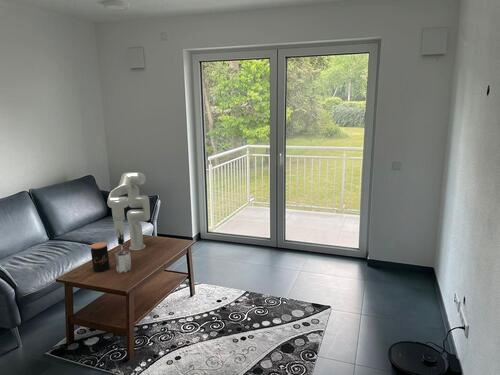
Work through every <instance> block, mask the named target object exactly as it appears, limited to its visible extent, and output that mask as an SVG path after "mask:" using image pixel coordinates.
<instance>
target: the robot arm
mask: <svg viewBox="0 0 500 375" xmlns="http://www.w3.org/2000/svg"><path fill="white" fill-rule="evenodd" d="M146 179H147V178H146V175H145V174H144V173H142V172H137V171H136V172H134V171H133V172H123V174H121V177H120V180H119V184H118V186H116V187H114V189H112V190H111V191H110V192H109V194H108V197H107V202H106V203H107V207H109V208H110V209H111V214H112V221H113V225H114V226H113V228H114V236H117V242H118V243H117V244H118V246H121V245H122V246H123V245H124V242H123V239H122V236H125V235H124V232H125V223H124V221H125V220H126V218H127V223H128V227H129V228H128V229H129V237H130V238H129V240H130V246H129V247H128V249H129V251H141V250H143V249H145V248H146V244H145V243H144V237H143V236H144V235H143V226H142V224H141V222H147V221H149V220H150V218H151V211H150V210H151V209H150V208H151V207H150V206H151V205H150V198H149V196H148V195H146V194H143V195H140V188H139V187H138V185H144V184H145V183H146ZM126 194H127V196H125V195H126ZM128 207H129V208H132V209H130V210H128V211H127V212H126V216H125V208H128ZM133 208H134V209H133ZM135 208H136V209H135ZM137 208H140V209H137Z"/></svg>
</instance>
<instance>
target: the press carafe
mask: <svg viewBox="0 0 500 375" xmlns="http://www.w3.org/2000/svg"><path fill="white" fill-rule="evenodd" d="M121 254H122V251H121V250H120V251H117V252H115V254H114V258H115V266H116V268H115V269H116V272H117V273H121V274H123V273H127V272H130V271H131V270H132V261H131V252H130V250H129V251H128V250H123V254H127V255H124V256H119V255H121Z"/></svg>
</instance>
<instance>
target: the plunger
mask: <svg viewBox="0 0 500 375" xmlns="http://www.w3.org/2000/svg"><path fill="white" fill-rule="evenodd" d="M124 236H125V235H124ZM124 236H122V239H123V243H125V237H124ZM120 249H121V250H120V251H122V254H121V255H119V256H124V255H127V254H123V251H124V247H123V245H120Z"/></svg>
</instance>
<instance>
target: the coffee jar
mask: <svg viewBox="0 0 500 375" xmlns="http://www.w3.org/2000/svg"><path fill="white" fill-rule="evenodd" d="M90 254H91V262H92V269H93V271H94V272H96V273H103V272H106V271H108V270H109V269H110V259H109V258H110V257H109V251H108V243H107V242H103V241H102V242H94V243H93V244H91V245H90Z"/></svg>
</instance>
